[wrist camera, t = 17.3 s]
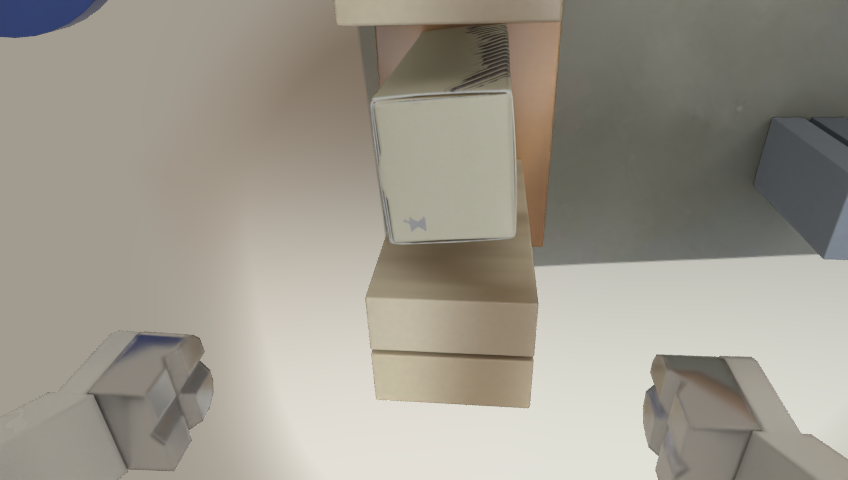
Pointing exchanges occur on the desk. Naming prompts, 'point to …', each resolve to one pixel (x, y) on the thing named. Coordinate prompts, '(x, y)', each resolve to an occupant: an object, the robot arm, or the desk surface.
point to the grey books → (809, 179)
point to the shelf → (476, 260)
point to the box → (448, 139)
